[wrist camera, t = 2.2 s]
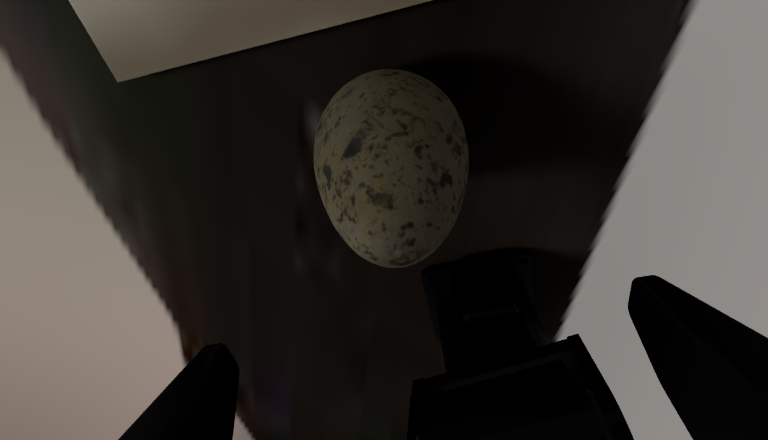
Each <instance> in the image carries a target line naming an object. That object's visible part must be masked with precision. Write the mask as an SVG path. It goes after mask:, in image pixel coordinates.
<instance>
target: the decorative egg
mask: <svg viewBox="0 0 768 440" xmlns="http://www.w3.org/2000/svg"><path fill="white" fill-rule="evenodd" d="M468 168H469V153H468V144H467V139H466V134H465V130H464V127H463V124H462V121H461V119H460V117H459V114H458V112H457V110H456V109H455V107H454V105H453V104H452V102H451V101H450V99H449V98H448V97H447V96H446V94H445V93H444V92H443V91H442V90H441V89H439V88H438V87H437V86H436V85H435V84H433V83H432V82H431V81H429V80H427V79H426V78H424V77H422V76H420V75H418V74H415V73H412V72H409V71H405V70H399V69H381V70H375V71H371V72H368V73H365V74H362V75H360V76H358V77H356V78H355V79H353V80H351V81H350V82H348V83H347V84H346V85H344V86H343V87H342V88H341V89H340V90H339V91H338V92H337V93H336V94H335V95H334V96H333V98H332V99H331V100H330V102H329V103H328V105H327V107H326V108H325V110H324V112H323V114H322V116H321V119H320V121H319V124H318V128H317V131H316V136H315V143H314V169H315V176H316V181H317V185H318V189H319V193H320V196H321V199H322V201H323V204H324V206H325V209H326V211H327V213H328V215H329V217H330V219H331V221H332V223H333V225H334V227H335V228H336V230H337V231H338V233H339V234H340V236H341V237H342V238H343V240H344V241H345V242H346V243H347V244H348V245H349V246H350V247H351V248H352V249H353V250H354V251H355V252H356V253H357V254H359V255H360V256H361V257H363V258H364V259H366V260H368V261H370V262H372V263H374V264H376V265H380V266H383V267H389V268H401V267H406V266H410V265H413V264H415V263H418V262H420V261H422V260H423V259H425V258H426V257H428V256H429V255H430V254H432V253H433V252H434V251H435V250H436V249H437V248H438V247H439V246H440V245H441V244H442V242H443V241H444V240H445V238H446V237H447V236H448V234H449V232H450V231H451V229H452V228H453V226H454V224H455V222H456V220H457V217H458V215H459V212H460V209H461V206H462V203H463V199H464V194H465V190H466V185H467V179H468Z"/></svg>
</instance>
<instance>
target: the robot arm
mask: <svg viewBox="0 0 768 440" xmlns="http://www.w3.org/2000/svg"><path fill="white" fill-rule="evenodd" d="M523 257H524V259H522V260H520V259H521V258H523ZM428 275H433V276H431V277H428ZM421 276H422V282H423V286H424V290H425V294H426V298H427V302H428V306H429V310H430V314H431V318H432V322H433V326H434V330H435V334H436V338H437V340H439V341H441V344H442V350H443V356H444V362H445V368H446V373H444V374H441V375H437V376H434V377H430V378H427V379H424V378H420V379H417V380H413V387H412V395H411V399H410V410H409V422H408V434H407V440H634V439H633V436H632V434H631V431H630V429H629V427H628V425H627V422H626V421H625V418H624V416H623V414H622V412H621V410H620V408H619V406H618V404H617V402H616V400H615V398H614V396H613V394H612V392H611V390H610V389H609V387H608V385H607V383H606V382H605V380H604V378H603V376H602V375H601V373H600V371H599V369H598V368H597V366H596V364H595V362H594V361H593V359H592V358H591V355H590V354H589V352H588V350H587V348H586V347H585V345H584V343H583V342H582V340H581V338H580V336H579V335H578V334H575V335H572V336H568V337H567V339H565V340H561V341H557V342H554V343H550V344H549V342H548V339H547V337H546V334H545V332H544V330H543V327H542V325H541V322H540V320H539V318H538V315H537V313H536V310H535V308H534V287H533V262H532V257H531V254H530V252H528V251H527V250H518V251H513V252H508V253H503V254H497V255H492V256H487V257H481V258H476V259H471V260H465V261H460V262H455V263H449V264H444V265H439V266H434V267H428V268H425V269H424V270H423V271H422V273H421ZM628 310H629V314H630V317H631V319H632V321H633V324H634V326H635V328H636V330H637V333H638V335H639V337H640V339H641V342H642V344H643V346H644V348H645V350H646V353H647V355H648V357H649V359H650V362H651V364H652V366H653V368H654V371H655V373H656V375H657V377H658V379H659V381H660V383H661V385H662V387H663V389H664V390H665V392H666V394H667V396H668V397H669V399H670V401H671V403H672V404H673V406H674V408H675V409H676V411H677V413H678V415H679V416H680V418H681V420H682V421H683V423H684V424H685V426H686V428H687V430H688V432H689V433H690V435H691V437H692V438H693V440H768V338H767V337H765V336H763V335H761V334H760V333H758V332H756V331H754V330H752V329H751V328H749V327H747V326H745V325H744V324H742V323H740V322H738V321H736V320H735V319H733V318H731V317H729V316H728V315H726V314H724V313H722V312H720V311H719V310H717V309H715V308H713V307H712V306H710V305H708V304H706V303H705V302H703V301H701V300H699V299H697V298H696V297H694V296H692V295H690V294H689V293H686V292H685V291H683V290H681V289H680V288H678V287H676V286H674V285H673V284H671V283H669V282H667V281H665V280H664V279H662V278H660V277H658V276H655V275H650V276H644V277H637V278H635V279H634V280H633V281H632V285H631V291H630V296H629V302H628ZM238 383H239V367H238V364H237V362H236V361H235V359H234V358H233V356H232V355H231V353H230V352H229V350H228V348H227V347H226V346H225V345H224V344H222V343H219V344H213V345H207V346H205V347H203V348H202V349H201V350H200V351H199V352H198V354H197V355H196V356H195V357H194V358H193V359H192V360H191V361H190V362H189V363H188V364H187V366H186V367H185V368H184V369H183V370H182V371H181V372H180V373H179V374H178V375H177V376H176V377H175V379H174V380H173V381H172V382H171V383H170V384H169V385H168V386H167V387H166V388H165V389H164V390H163V392H162V393H161V394H160V395H159V396H158V397H157V398H156V399H155V400H154V401H153V402H152V404H151V405H150V406H149V407H148V408H147V409H146V410H145V411H144V412H143V413H142V414H141V415H140V417H139V418H138V419H137V420H136V421H135V422H134V423H133V424H132V425H131V426H130V427H129V429H128V430H127V431H126V432H125V433H124V434H123V435H122V436H121V437H120V438H119V439H118V440H232V437H233V430H234V421H235V412H236V402H237V393H238Z"/></svg>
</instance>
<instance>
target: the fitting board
mask: <svg viewBox="0 0 768 440" xmlns="http://www.w3.org/2000/svg"><path fill="white" fill-rule="evenodd" d="M428 1H432V0H69V2H70V3H71V5H72V7H73V8H74V10H75V12H76V13H77V15H78V17H79V18H80V20H81V22H82V23H83V25H84V27H85V28H86V30H87V32H88V33H89V35H90V37H91V39H92V40H93V42H94V44H95V45H96V47H97V49H98V50H99V52H100V54H101V55H102V57H103V59H104V60H105V62H106V64H107V65H108V67H109V69H110V70H111V72H112V74H113V75H114V77H115V79H116V80H117V82H121V81H125V80H129V79H133V78H136V77H140V76H144V75H148V74H152V73H156V72H159V71H163V70H167V69H171V68H175V67H179V66H183V65H186V64H190V63H194V62H198V61H202V60H206V59H209V58H213V57H217V56H221V55H225V54H229V53H232V52H236V51H240V50H244V49H248V48H252V47H255V46H259V45H263V44H267V43H271V42H275V41H278V40H282V39H286V38H290V37H294V36H298V35H301V34H305V33H309V32H313V31H317V30H321V29H324V28H328V27H332V26H336V25H340V24H344V23H348V22H351V21H355V20H359V19H363V18H367V17H371V16H374V15H378V14H382V13H386V12H390V11H394V10H397V9H401V8H405V7H409V6H413V5H417V4H420V3H424V2H428Z"/></svg>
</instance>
